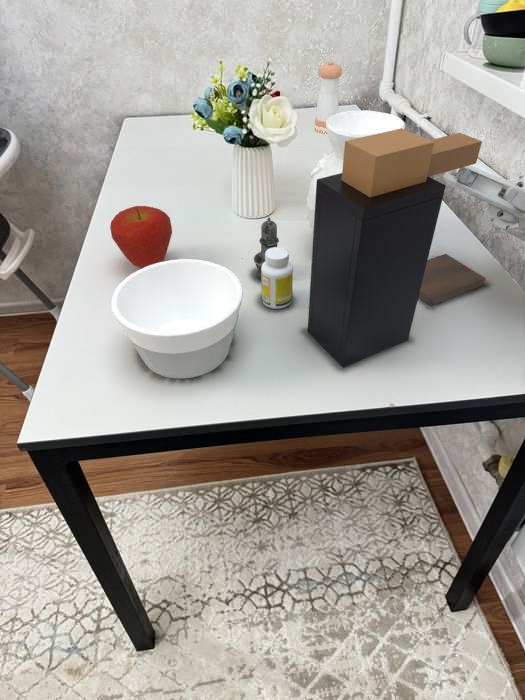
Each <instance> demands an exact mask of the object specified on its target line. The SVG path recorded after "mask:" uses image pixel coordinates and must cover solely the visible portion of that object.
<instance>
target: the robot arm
mask: <svg viewBox="0 0 525 700" xmlns="http://www.w3.org/2000/svg"><path fill="white" fill-rule="evenodd" d="M443 180H444V182H446V183H448V184H449V185H451V186H453V187H455V188H457V189H458V190H460V191H462V192H464V193H466V194H468V195H469V196H472V197H474V198H476V199H479V200H480V201H482V202H484V203H487V205H488V207H487V213H488V217H489V220H490V221H491V223H492V224H493V225H494V226H495V227H496V228H499V229H500V230H502V231H504V232H506V233H508V234H510V235H511V236H515V237H517V238H518V239H520V240H521V241H523V242H525V175H517V176H513V177H511V178H509V179H507V180H505V179H503V178H501V177H498V176H496V175H493V174H492V173H489V172H487V171H484V170H483V169H480V168H477V167H476V166H473V165H469V166H466V167H462V168H458V169H455V170H451V171H448V172H444V175H443Z"/></svg>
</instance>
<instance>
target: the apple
mask: <svg viewBox="0 0 525 700" xmlns="http://www.w3.org/2000/svg"><path fill="white" fill-rule="evenodd" d="M109 229H110V232H111V233H110V235H111V239H112V240H113V241H114V243H115V245H116V246H117V248H118V249H119V251H121V253H122V254H123V256H124V257H125V258H126V259H127V260H128V261H129V262H130V264H131V265H133V266H134V267H138V268H140V269H142V268H144V267H147V266H149V265H152V264H156V263H159V262H164V261H165V259H166V255H167V252H168V250H169V246H170V243H171V238H172V235H173V226H172V221H171V217H170V216H169V215H168V214H167V213H166V212H164V211H163V210H162V209H160V208H157V207H153V206H147V205H135V206H132V207H127V208H125V209H123V210H120V211H119V212H118V213H117V214H115V216H114V217H113V218H112V220H111V221H110V227H109Z"/></svg>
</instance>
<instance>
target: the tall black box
mask: <svg viewBox="0 0 525 700" xmlns="http://www.w3.org/2000/svg"><path fill="white" fill-rule="evenodd" d="M341 179H342V173H340V174H336V175H332V176H328V177H324V178H320V179H317V184H316V199H315V216H314V232H313V233H312V249H311V250H312V251H311V267H310V282H309V283H310V285H309V299H308V301H309V302H308V316H307V333H308V334H309V335H310V336H311V337H312V338H313V339H314V340H315V341H316V342H317V343H318V344H319V345H320V346H321V347H322V348H323V349H324V350H325V351H326V352H327V354H329V355H330V356H331V357H332V359H334V360H335V361H336V362H337V363H338V365H339V366H341V368H346V367H348V366H351V365H353V364H355V363H357V362H360V361H362V360H364V359H367V358H369V357H372V356H374V355H377V354H379V353H381V352H383V351H386V350H389V349H390V348H393V347H395V346H397V345H400V344H402V343H404V342H407V341H408V340H409V338H410V334H411V329H412V325H413V322H414V317H415V314H416V309H417V305H418V302H419V301H418V300H419V293H420V289H421V285H422V281H423V277H424V273H425V269H426V264H427V260H429V255H430V251H431V247H432V244H433V240H434V236H435V232H436V227H437V223H438V219H439V216H440V211H441V207H442V203H443V200H444V195H445V191H446V187H447V185H446V184H444V183H442V182H440V181H438V180H436V179H434V178H432V177H431V176H430V177H427V179H426V182H424V183H420V184H417V185H413V186H410V187H406V188H403V189H399V190H395V191H392V192H388V193H385V194H381V195H378V196H374V197H371V198H370V197H368V196H367V195H365V194H363V193H362V192H360V191H358V190H357V189H355V188H353V187H352V186H350V185H348V184H347V183H345V182H343V181H342V180H341Z"/></svg>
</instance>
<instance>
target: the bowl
mask: <svg viewBox="0 0 525 700" xmlns="http://www.w3.org/2000/svg"><path fill="white" fill-rule="evenodd" d="M243 298H244V289H243V284H242V283H241V281H240V279H239V277H238V276H237V275H236V274H235V273H234V272H233V271H231V270H230V269H228V268H227V267H225V266H223V265H221V264H219V263H215V262H212V261H208V260H203V259H193V258H180V259H169V260H163V261H162V262H159V263H156V264H152V265H149V266H147V267H144V268H140V269H138V270H136V271H134V272H132V273H131V274H129V275H128V276H127V277H126V278H124V279H123V280H122V281H121V282H119V284H118V285H117V287H116V288H115V290H114V292H113V294H112V297H111V301H110V307H111V312H112V314H113V317H114V318H115V319H116V321H117V323H118V324H119V326H120V328H121V329H122V331H123V332H124V334H125V335H126V337H127V338H128V339H129V341H130V343H131V344H132V345H133V347H134V349H135V350H136V352H137V353H138V355H139V357H140V358H141V360H142V361H143V363H144V364H145V366H146V367H147V368H148V369H149V370H150V371H152V372H153V373H155V374H156V375H159V376H162V377H165V378H170V379H178V380H179V379H181V380H183V379H192V378H197V377H201V376H203V375H206V374H208V373H210V372H212V371H214V370H215V369H217V368H218V367H219V366H221V365H222V364H223V362H224V361H225V360H226V359H227V357H228V355H229V353H230V349H231V345H232V341H233V339H234V338H233V337H234V334H235V329H236V326H237V321H238V318H239V314H240V310H241V306H242V303H243Z"/></svg>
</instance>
